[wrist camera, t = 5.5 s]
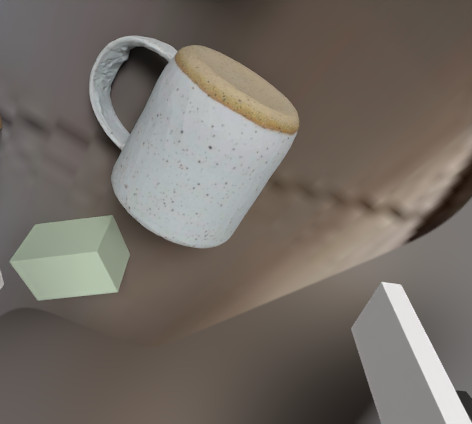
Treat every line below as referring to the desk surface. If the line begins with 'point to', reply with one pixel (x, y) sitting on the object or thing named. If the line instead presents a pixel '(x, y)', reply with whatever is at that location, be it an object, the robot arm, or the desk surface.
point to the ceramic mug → (193, 141)
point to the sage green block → (72, 258)
